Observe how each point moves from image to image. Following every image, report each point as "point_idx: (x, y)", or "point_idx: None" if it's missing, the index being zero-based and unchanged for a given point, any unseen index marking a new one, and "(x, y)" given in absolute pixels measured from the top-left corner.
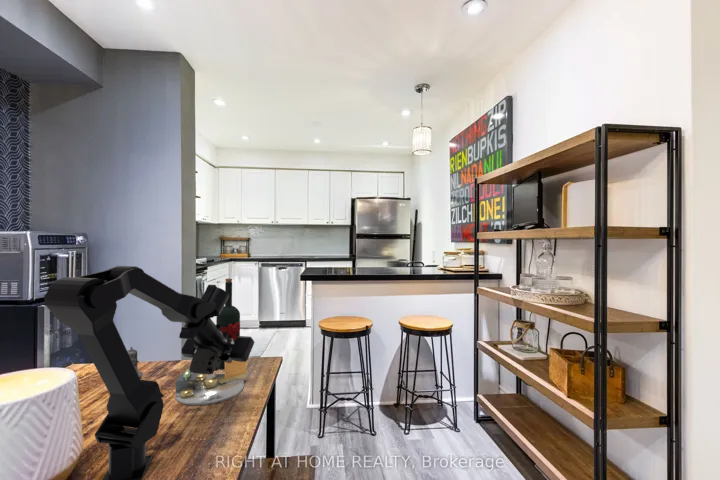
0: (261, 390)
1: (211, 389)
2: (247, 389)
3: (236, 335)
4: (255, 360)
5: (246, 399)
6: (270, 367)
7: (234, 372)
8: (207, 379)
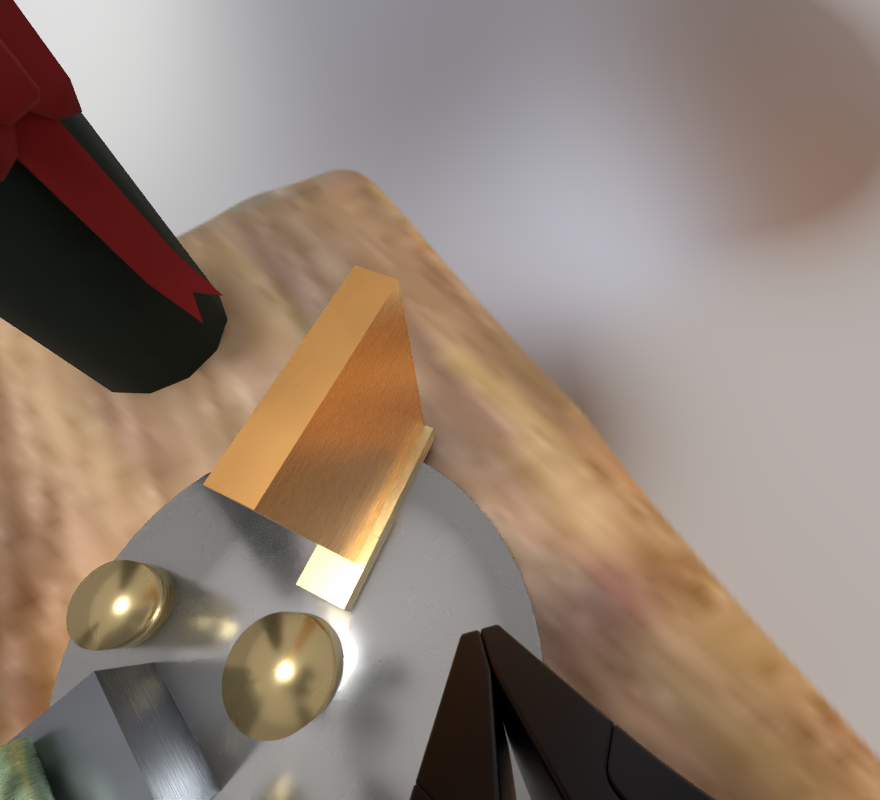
0: (616, 494)
1: (339, 707)
2: (527, 526)
3: (77, 144)
4: (273, 229)
5: (647, 649)
6: (416, 255)
7: (382, 493)
8: (245, 686)
